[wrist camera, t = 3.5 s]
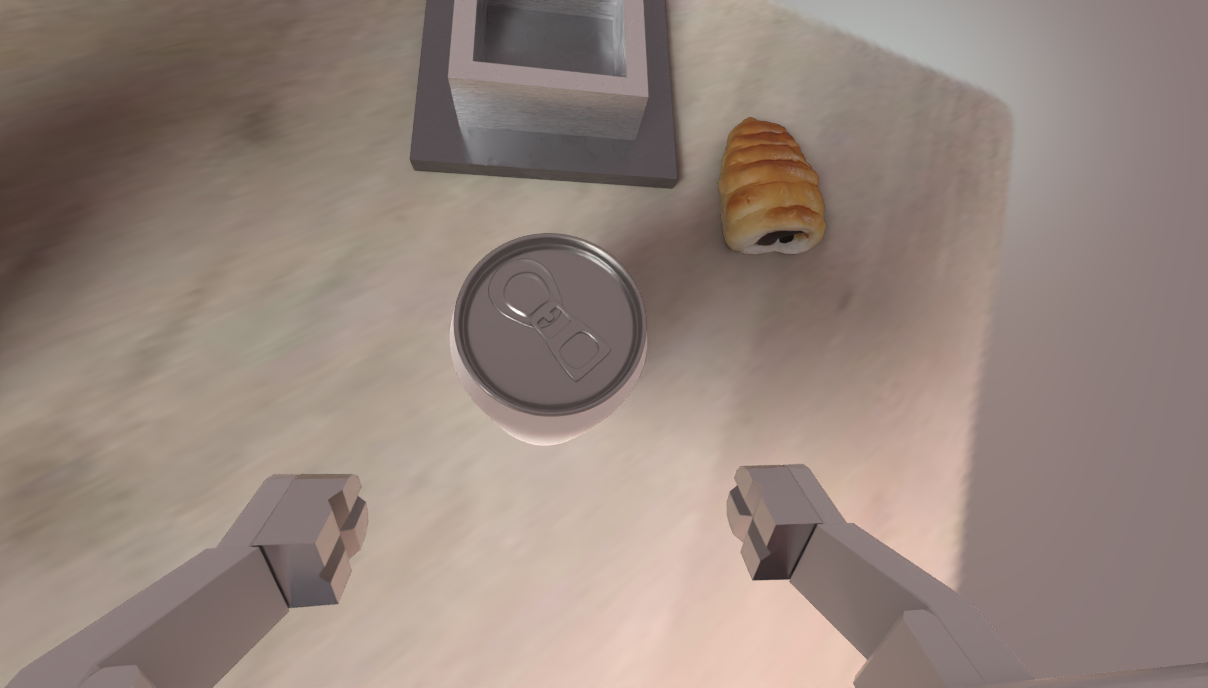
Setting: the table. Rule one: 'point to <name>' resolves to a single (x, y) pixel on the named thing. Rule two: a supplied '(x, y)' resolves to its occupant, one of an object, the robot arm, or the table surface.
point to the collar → (546, 91)
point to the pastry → (768, 192)
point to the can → (548, 336)
